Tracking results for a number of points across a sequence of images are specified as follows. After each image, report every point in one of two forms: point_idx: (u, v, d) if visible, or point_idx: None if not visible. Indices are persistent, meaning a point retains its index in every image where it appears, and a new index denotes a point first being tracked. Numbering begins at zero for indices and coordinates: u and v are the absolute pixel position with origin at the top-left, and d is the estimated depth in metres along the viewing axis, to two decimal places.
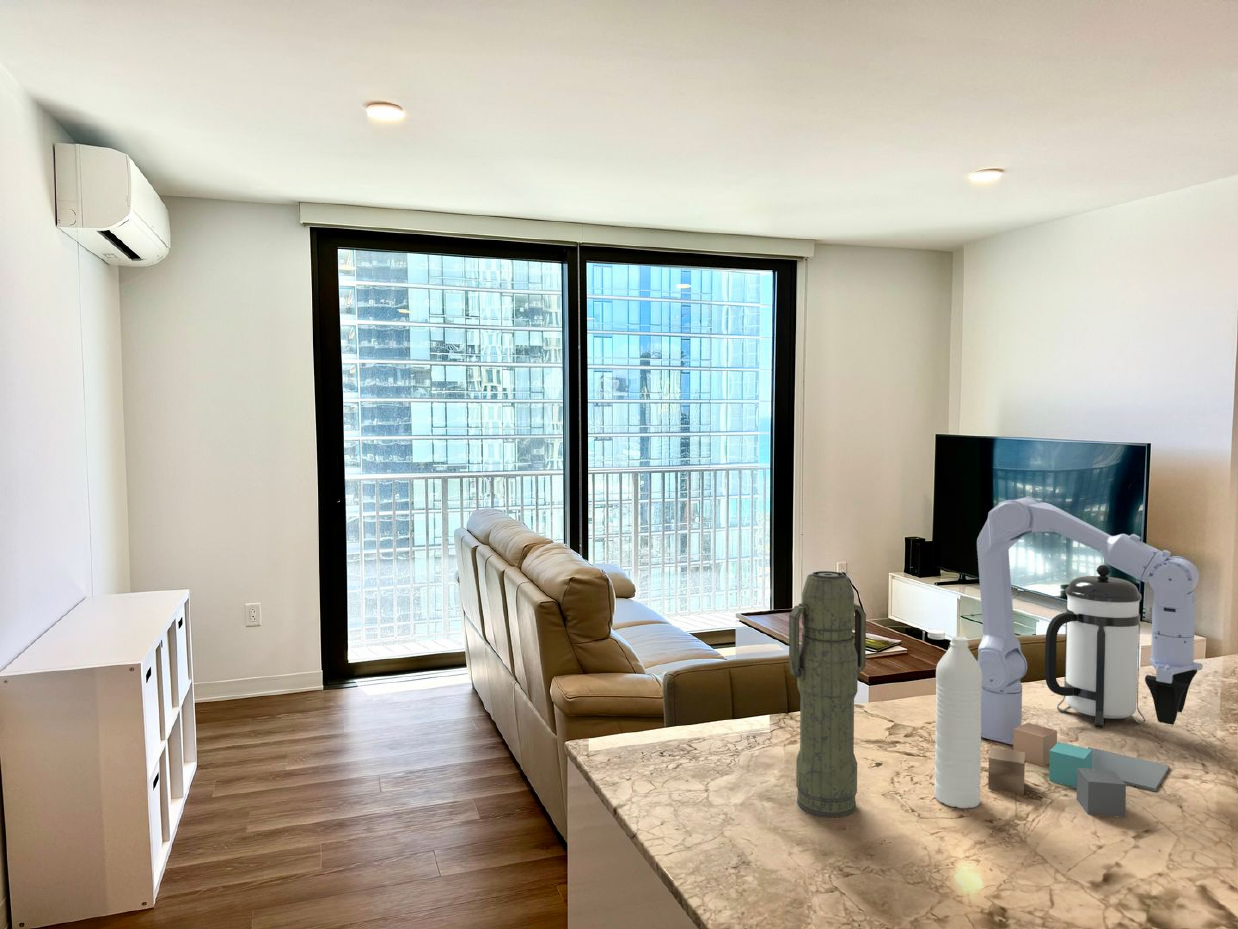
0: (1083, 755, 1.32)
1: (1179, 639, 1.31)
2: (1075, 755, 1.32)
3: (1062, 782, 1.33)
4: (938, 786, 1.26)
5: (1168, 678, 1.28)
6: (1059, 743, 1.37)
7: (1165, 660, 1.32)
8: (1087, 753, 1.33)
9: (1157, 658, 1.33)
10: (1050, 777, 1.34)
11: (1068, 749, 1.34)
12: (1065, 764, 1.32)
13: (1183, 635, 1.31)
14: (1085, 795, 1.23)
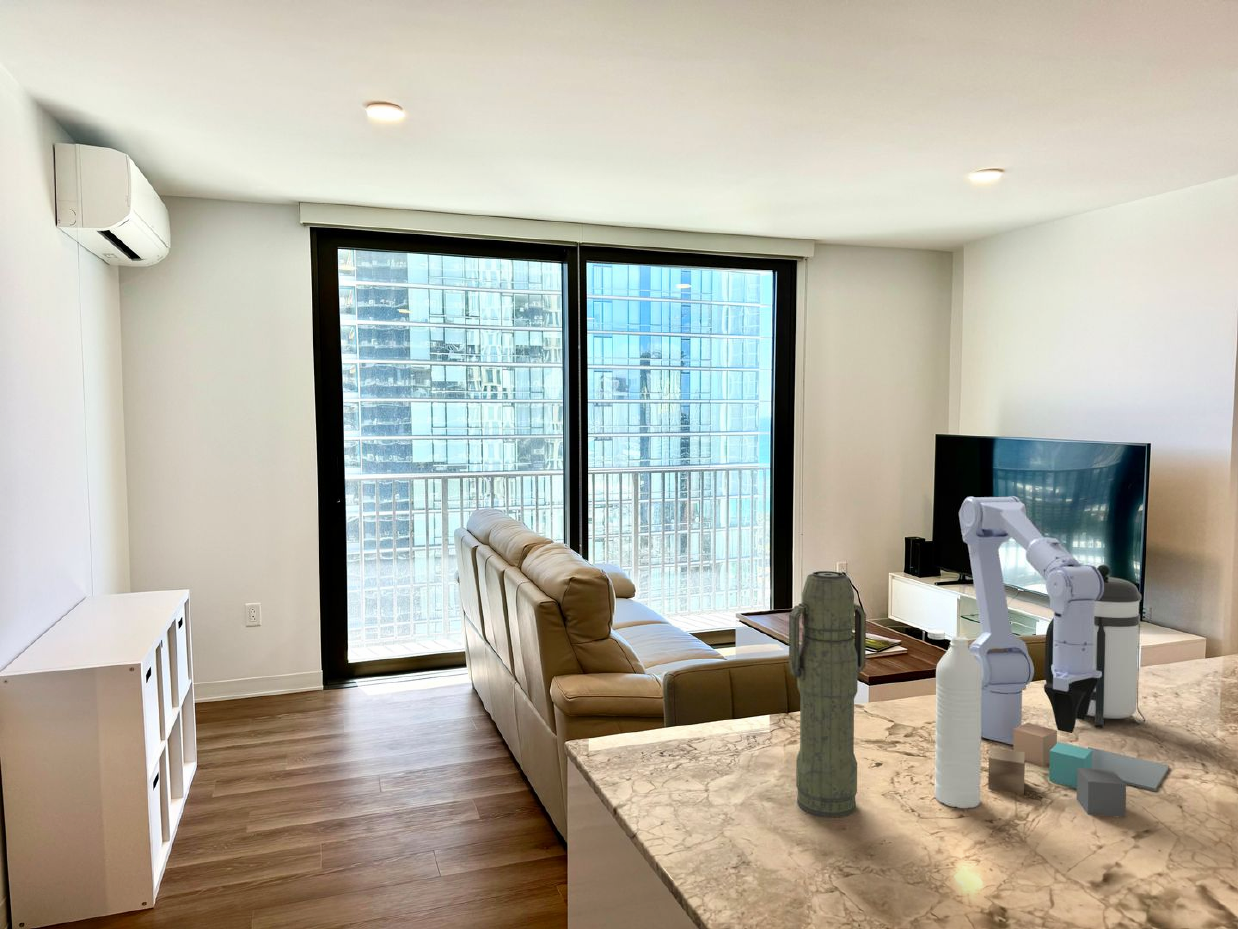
0: (1083, 755, 1.32)
1: (1077, 647, 1.30)
2: (1075, 755, 1.32)
3: (1062, 782, 1.33)
4: (938, 786, 1.26)
5: (1064, 686, 1.28)
6: (1059, 743, 1.37)
7: (1064, 668, 1.32)
8: (1087, 753, 1.32)
9: (1057, 666, 1.33)
10: (1050, 777, 1.34)
11: (1068, 749, 1.34)
12: (1065, 764, 1.32)
13: (1068, 641, 1.31)
14: (1085, 795, 1.23)
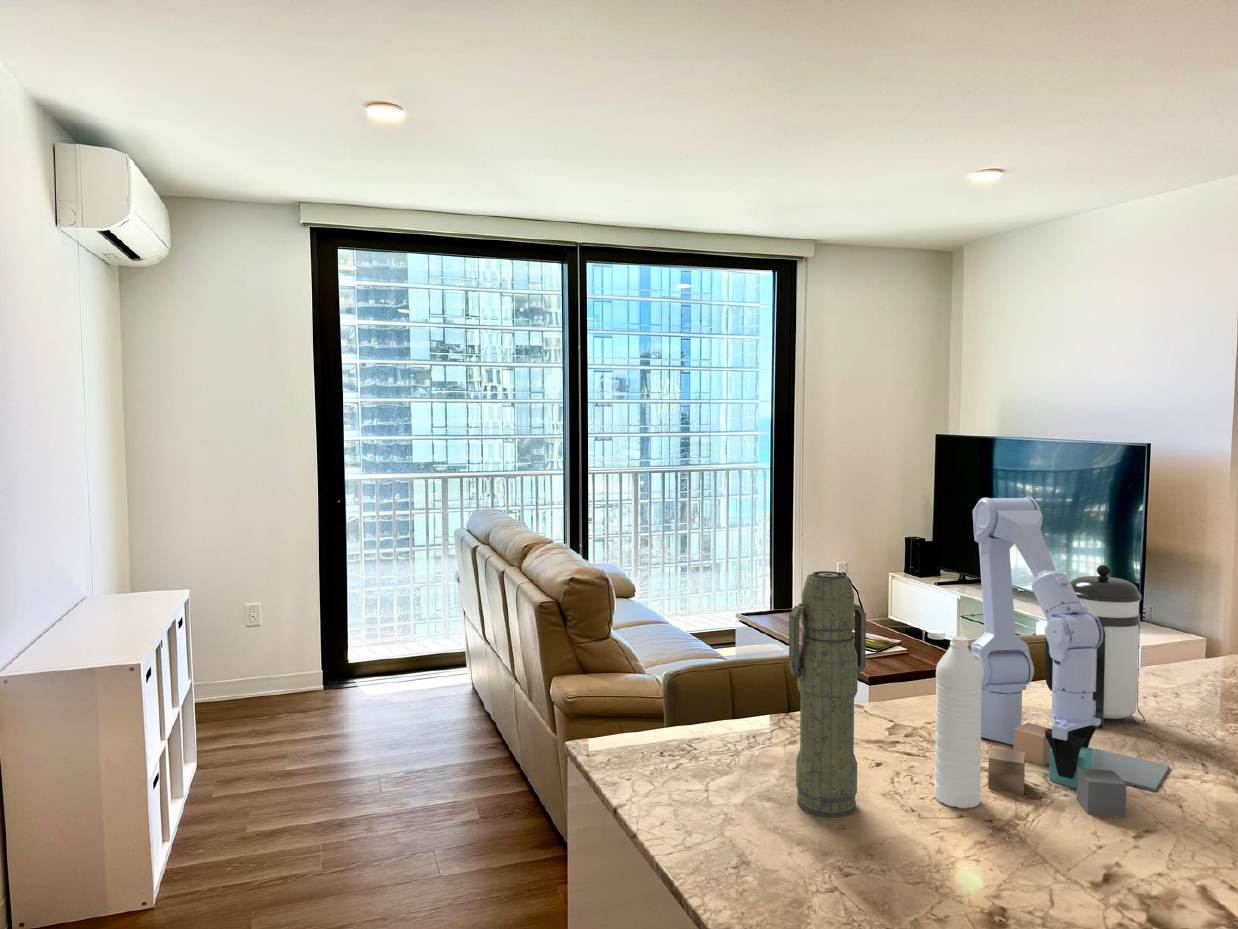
0: (1083, 754, 1.32)
1: (1076, 695, 1.31)
2: None
3: (1062, 781, 1.33)
4: (938, 786, 1.26)
5: (1063, 735, 1.28)
6: None
7: (1063, 715, 1.32)
8: (1087, 752, 1.32)
9: (1056, 713, 1.33)
10: (1050, 776, 1.34)
11: None
12: None
13: (1067, 689, 1.31)
14: (1085, 795, 1.23)
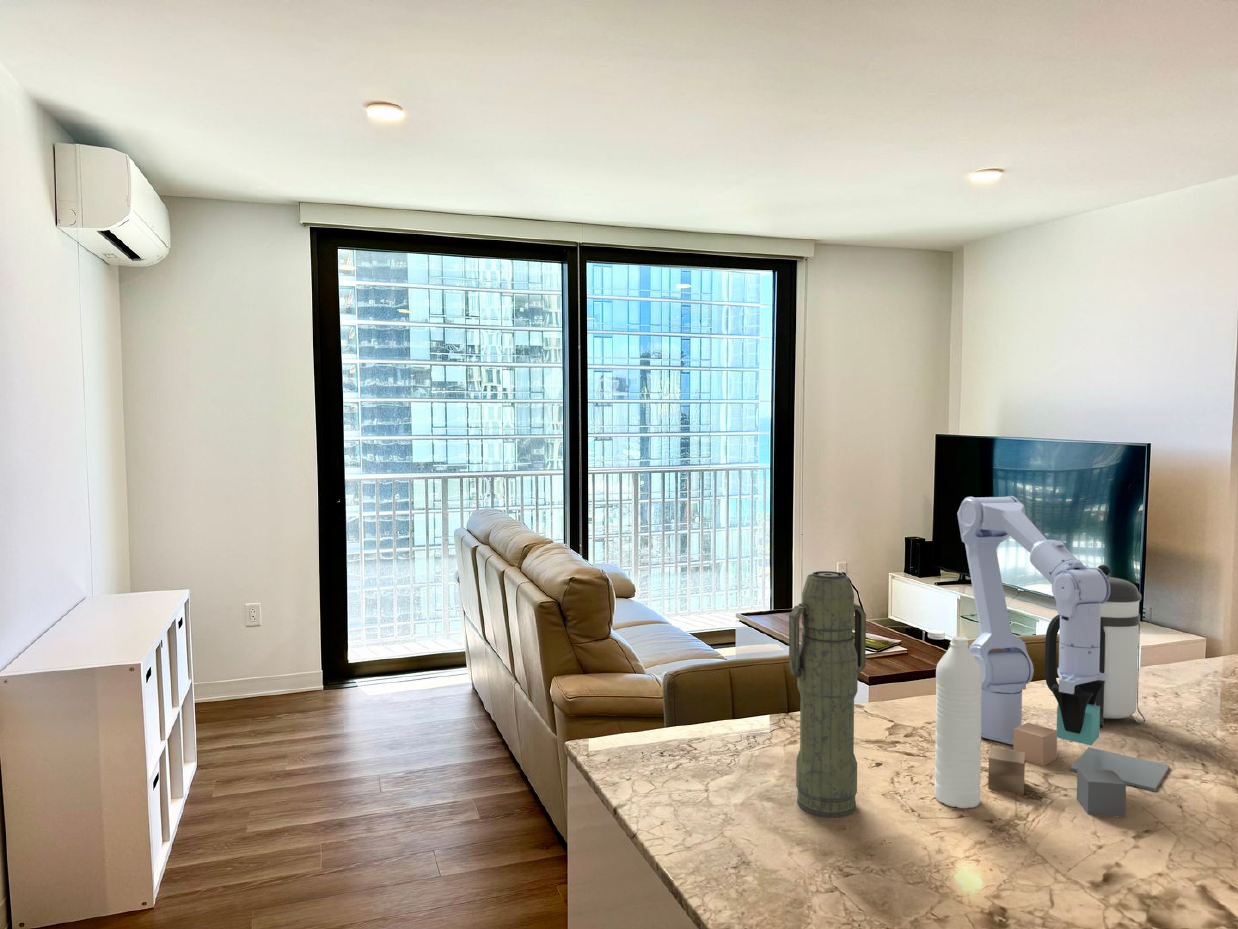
0: (1091, 711, 1.32)
1: (1083, 649, 1.31)
2: None
3: (1069, 738, 1.33)
4: (938, 786, 1.26)
5: (1070, 689, 1.28)
6: None
7: (1070, 670, 1.32)
8: (1095, 709, 1.33)
9: (1063, 668, 1.33)
10: (1057, 733, 1.34)
11: None
12: None
13: (1076, 644, 1.31)
14: (1085, 795, 1.23)
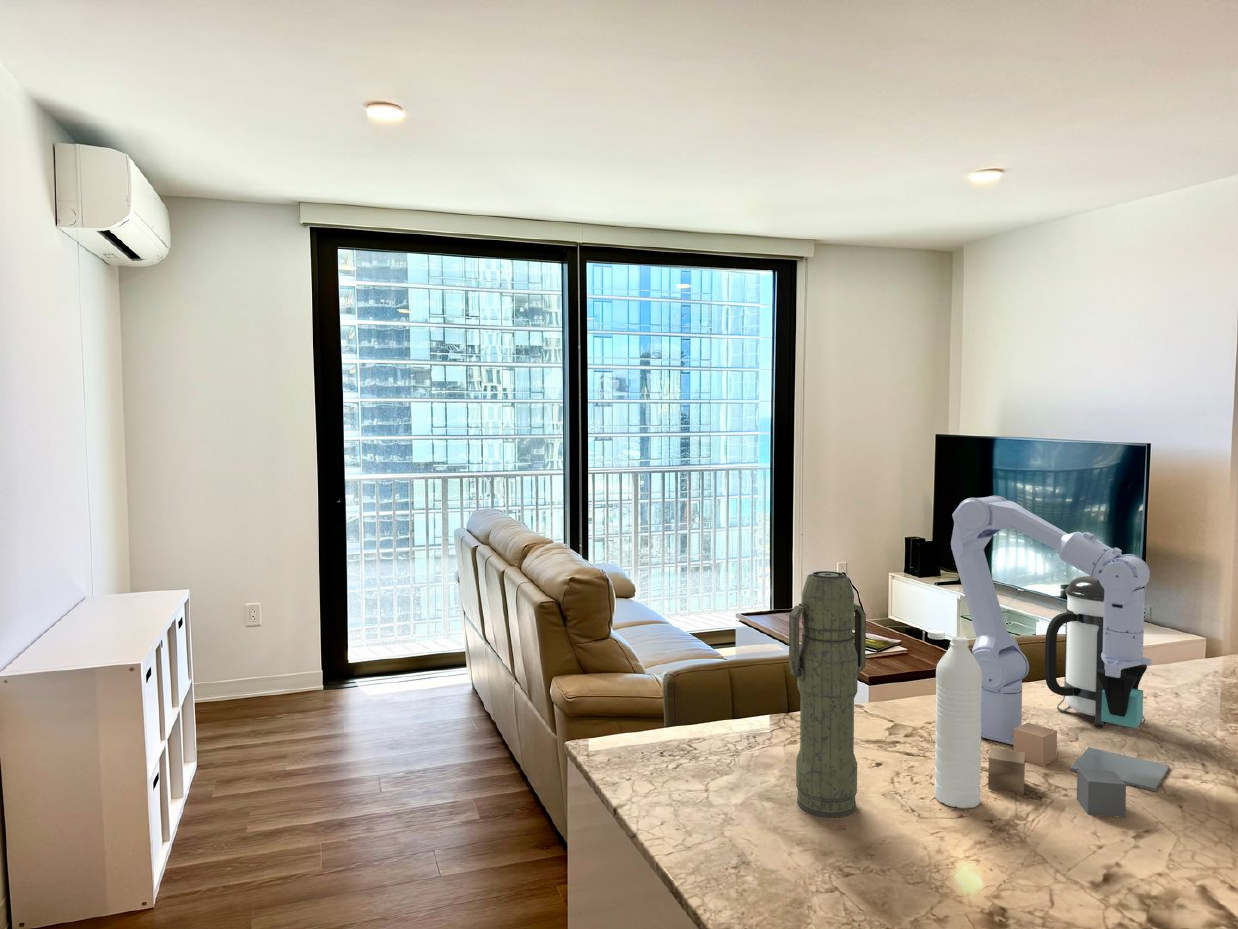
0: (1135, 694, 1.35)
1: (1128, 635, 1.34)
2: None
3: (1114, 721, 1.36)
4: (938, 786, 1.26)
5: (1116, 673, 1.32)
6: None
7: (1115, 655, 1.36)
8: (1139, 693, 1.36)
9: (1108, 653, 1.37)
10: (1102, 717, 1.37)
11: None
12: None
13: (1130, 631, 1.34)
14: (1085, 795, 1.23)
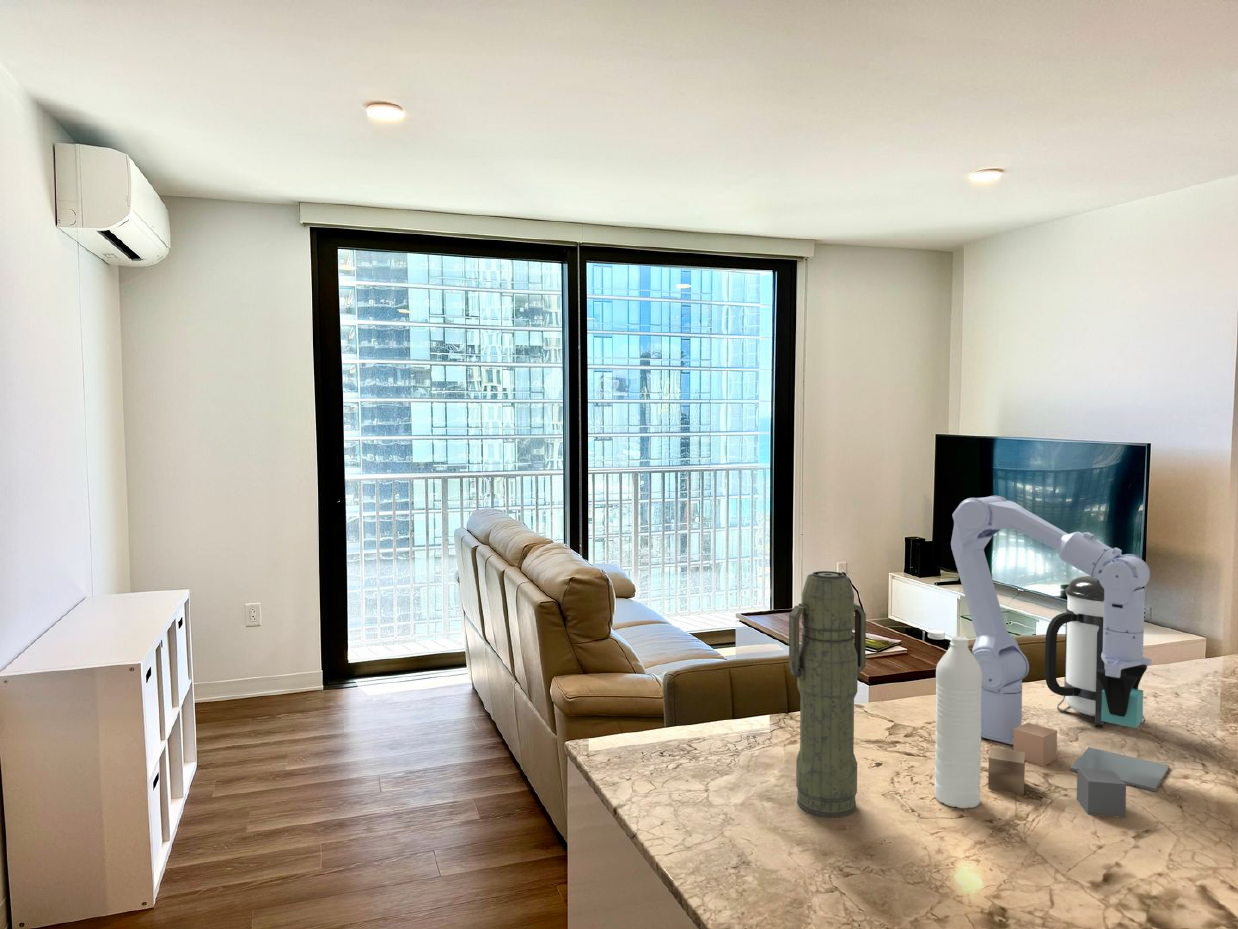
0: (1135, 694, 1.35)
1: (1128, 635, 1.34)
2: None
3: (1114, 721, 1.36)
4: (938, 786, 1.26)
5: (1116, 673, 1.32)
6: None
7: (1115, 655, 1.36)
8: (1139, 693, 1.36)
9: (1108, 653, 1.37)
10: (1102, 717, 1.37)
11: None
12: None
13: (1130, 631, 1.34)
14: (1085, 795, 1.23)
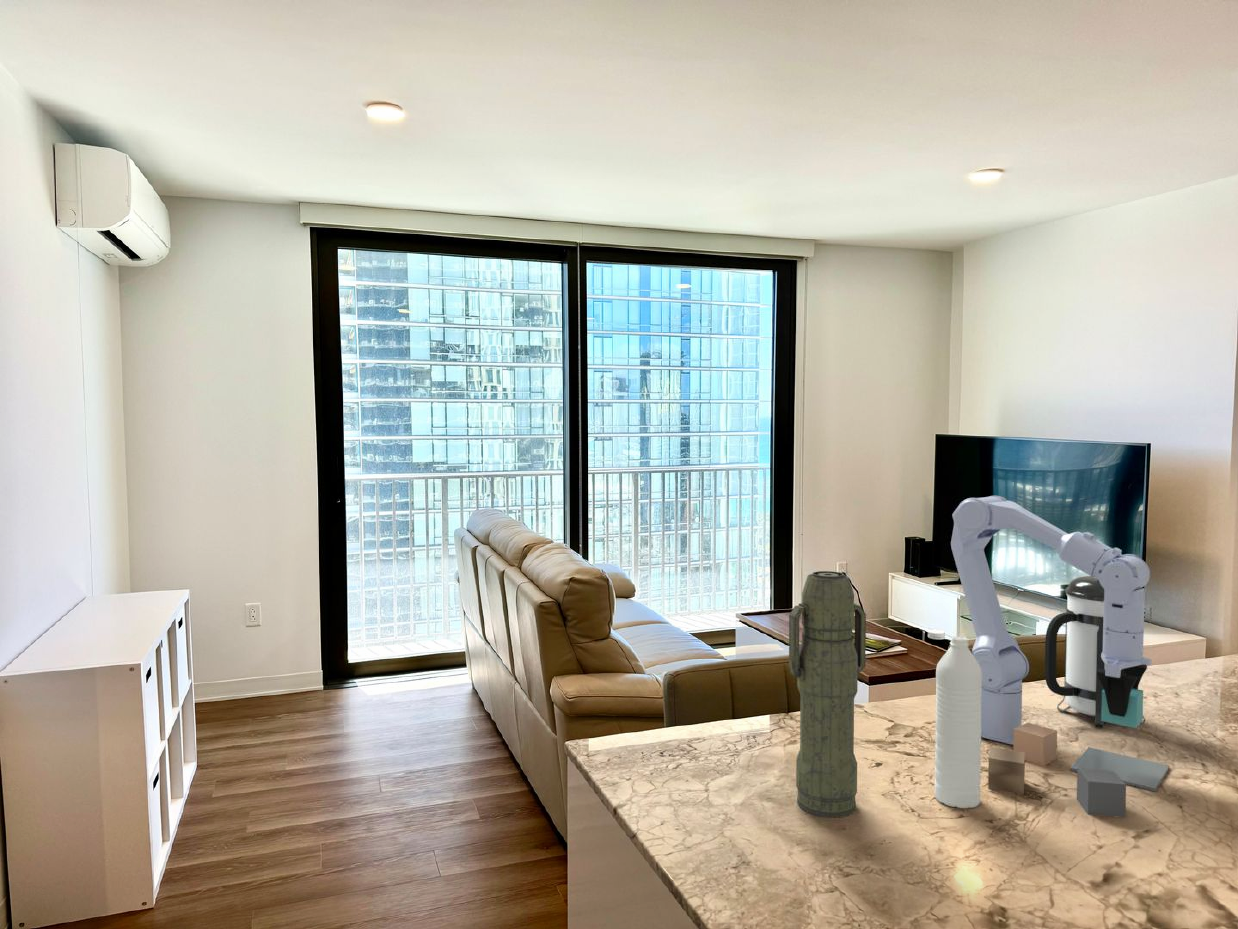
0: (1135, 694, 1.35)
1: (1128, 635, 1.34)
2: None
3: (1114, 721, 1.36)
4: (938, 786, 1.26)
5: (1116, 673, 1.32)
6: None
7: (1115, 655, 1.36)
8: (1139, 693, 1.36)
9: (1108, 653, 1.37)
10: (1102, 717, 1.37)
11: None
12: None
13: (1130, 631, 1.34)
14: (1085, 795, 1.23)
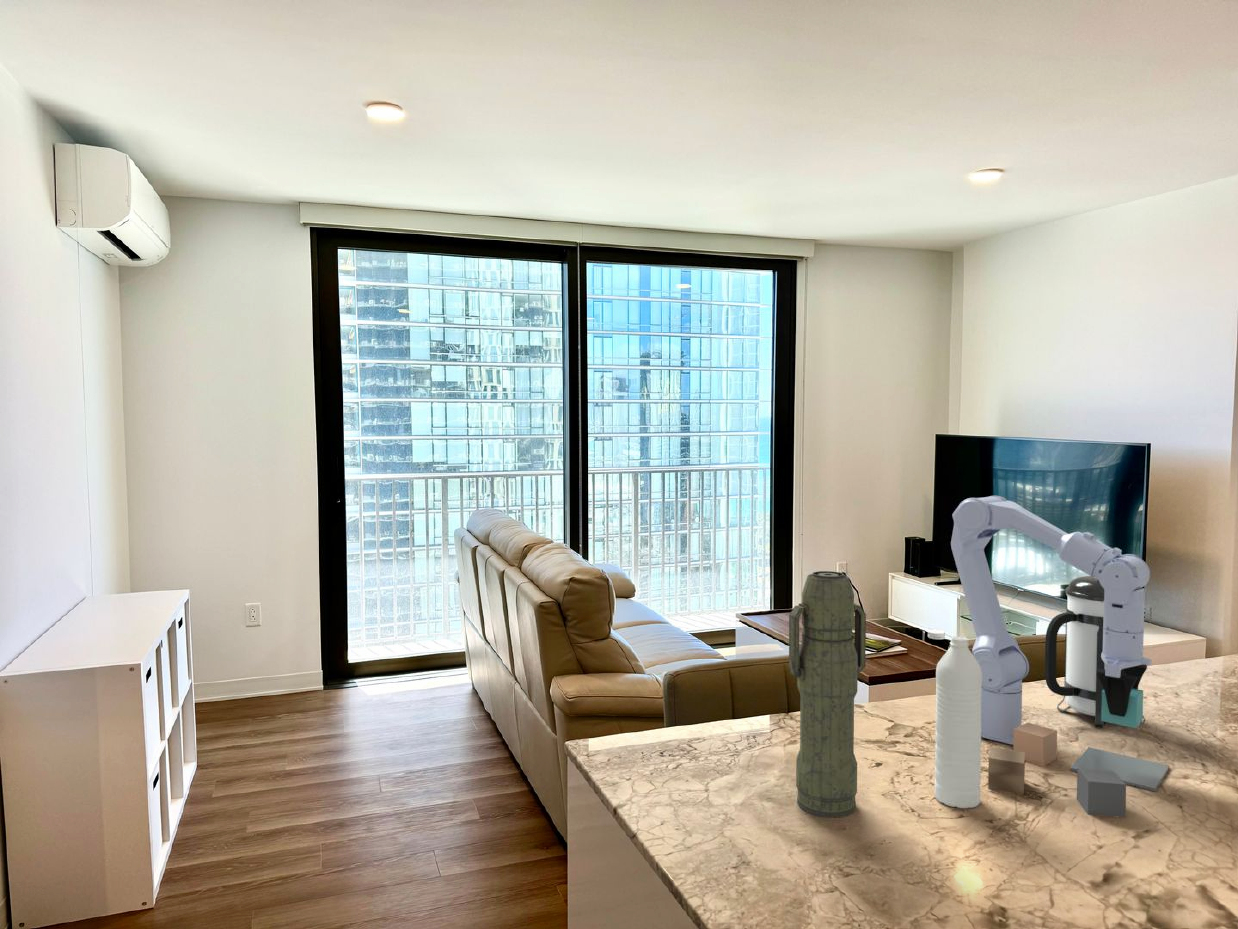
0: (1135, 694, 1.35)
1: (1128, 635, 1.34)
2: None
3: (1114, 721, 1.36)
4: (938, 786, 1.26)
5: (1116, 673, 1.32)
6: None
7: (1115, 655, 1.36)
8: (1139, 693, 1.36)
9: (1108, 653, 1.37)
10: (1102, 717, 1.37)
11: None
12: None
13: (1130, 631, 1.34)
14: (1085, 795, 1.23)
